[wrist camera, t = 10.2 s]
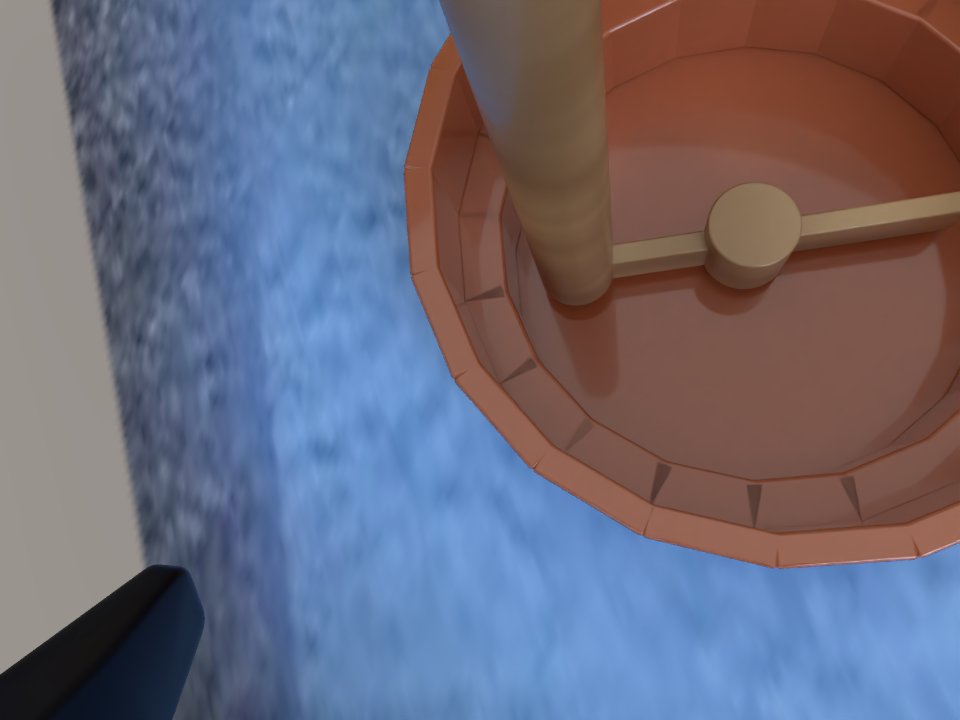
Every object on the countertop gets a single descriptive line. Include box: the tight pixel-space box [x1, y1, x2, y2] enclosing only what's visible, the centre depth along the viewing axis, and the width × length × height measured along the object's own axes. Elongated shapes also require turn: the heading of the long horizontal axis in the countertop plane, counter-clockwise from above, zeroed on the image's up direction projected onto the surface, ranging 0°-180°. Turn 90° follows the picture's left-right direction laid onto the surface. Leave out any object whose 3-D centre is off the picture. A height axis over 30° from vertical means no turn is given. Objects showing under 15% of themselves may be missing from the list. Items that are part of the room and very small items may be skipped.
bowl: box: [404, 0, 960, 569], centre depth 17 cm, size 14×14×6 cm
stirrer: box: [439, 0, 960, 306], centre depth 12 cm, size 10×2×15 cm, turn 96°
